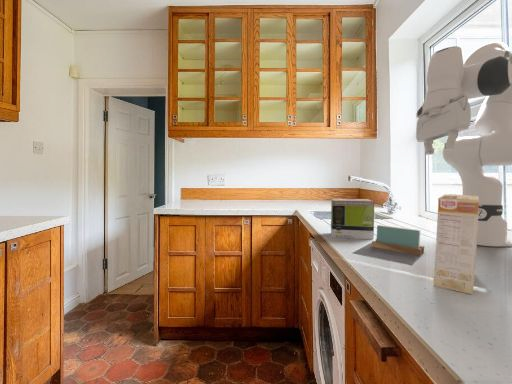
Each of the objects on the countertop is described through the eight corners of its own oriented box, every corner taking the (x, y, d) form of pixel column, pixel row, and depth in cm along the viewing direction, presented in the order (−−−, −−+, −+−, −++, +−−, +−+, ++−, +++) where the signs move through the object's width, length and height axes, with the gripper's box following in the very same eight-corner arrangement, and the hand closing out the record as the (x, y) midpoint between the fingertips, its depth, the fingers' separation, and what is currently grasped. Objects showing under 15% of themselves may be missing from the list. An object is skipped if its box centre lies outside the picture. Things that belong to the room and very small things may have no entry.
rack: (376, 244, 93) (376, 238, 93) (423, 252, 84) (424, 246, 84) (371, 246, 90) (371, 241, 89) (420, 255, 80) (421, 249, 80)
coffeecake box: (439, 268, 71) (444, 193, 70) (474, 275, 67) (479, 195, 66) (431, 286, 60) (436, 197, 58) (473, 295, 55) (479, 199, 54)
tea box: (368, 235, 110) (370, 198, 109) (373, 241, 100) (375, 201, 99) (330, 233, 113) (331, 197, 112) (331, 238, 104) (332, 199, 103)
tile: (378, 245, 91) (379, 224, 91) (419, 252, 84) (420, 230, 83) (376, 246, 90) (377, 225, 90) (417, 253, 82) (419, 230, 82)
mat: (370, 244, 95) (371, 242, 95) (424, 253, 85) (424, 251, 84) (351, 254, 82) (351, 253, 82) (411, 267, 72) (411, 265, 72)
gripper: (480, 91, 69) (476, 146, 69) (433, 115, 89) (430, 157, 89) (454, 90, 69) (450, 145, 69) (413, 114, 90) (410, 156, 90)
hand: (438, 152), depth 79 cm, fingers open, 8 cm apart
